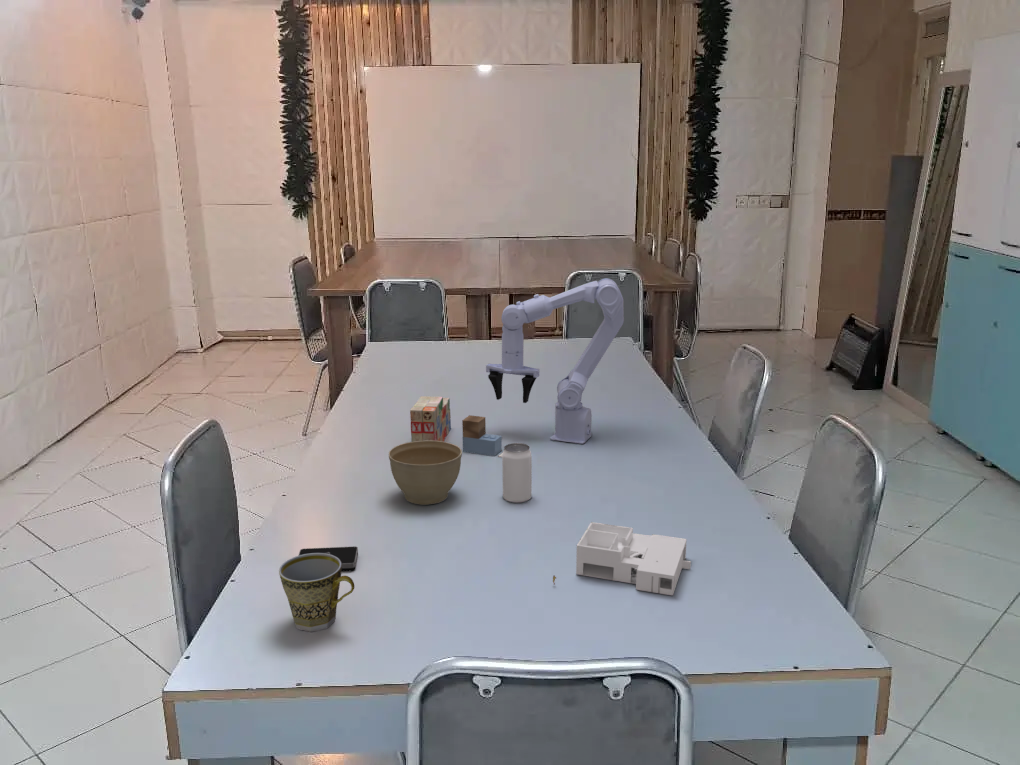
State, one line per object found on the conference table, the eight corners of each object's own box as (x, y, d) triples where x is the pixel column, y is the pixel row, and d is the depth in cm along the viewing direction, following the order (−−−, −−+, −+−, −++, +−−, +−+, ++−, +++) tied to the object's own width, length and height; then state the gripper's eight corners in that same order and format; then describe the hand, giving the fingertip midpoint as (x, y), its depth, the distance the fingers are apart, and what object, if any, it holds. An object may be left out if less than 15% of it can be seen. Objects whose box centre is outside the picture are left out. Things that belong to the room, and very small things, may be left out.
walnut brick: (485, 433, 220) (485, 417, 219) (478, 438, 216) (478, 422, 215) (469, 431, 222) (469, 415, 221) (462, 436, 218) (462, 420, 217)
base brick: (501, 450, 220) (501, 434, 219) (494, 456, 216) (494, 440, 214) (470, 446, 223) (469, 430, 222) (462, 451, 219) (462, 435, 218)
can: (510, 505, 186) (510, 454, 182) (497, 495, 191) (497, 445, 188) (536, 500, 189) (536, 449, 185) (522, 490, 194) (522, 440, 191)
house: (552, 585, 152) (552, 555, 150) (579, 542, 168) (580, 514, 167) (678, 607, 144) (680, 575, 143) (693, 559, 161) (695, 530, 160)
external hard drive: (355, 573, 157) (354, 563, 157) (294, 575, 157) (294, 566, 156) (358, 555, 164) (358, 546, 164) (300, 558, 163) (299, 548, 163)
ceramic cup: (271, 630, 138) (266, 575, 135) (306, 601, 147) (302, 548, 144) (340, 646, 134) (336, 589, 131) (372, 614, 143) (369, 560, 140)
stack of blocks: (429, 428, 237) (427, 386, 234) (451, 429, 237) (450, 387, 233) (411, 455, 217) (409, 409, 214) (435, 456, 216) (434, 410, 213)
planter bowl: (466, 509, 184) (465, 462, 181) (391, 514, 182) (389, 467, 179) (458, 481, 199) (457, 437, 197) (389, 486, 197) (387, 441, 194)
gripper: (481, 351, 222) (481, 401, 226) (533, 356, 217) (532, 407, 221) (491, 346, 229) (491, 394, 232) (542, 350, 223) (541, 400, 227)
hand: (512, 400), depth 227 cm, fingers open, 7 cm apart
